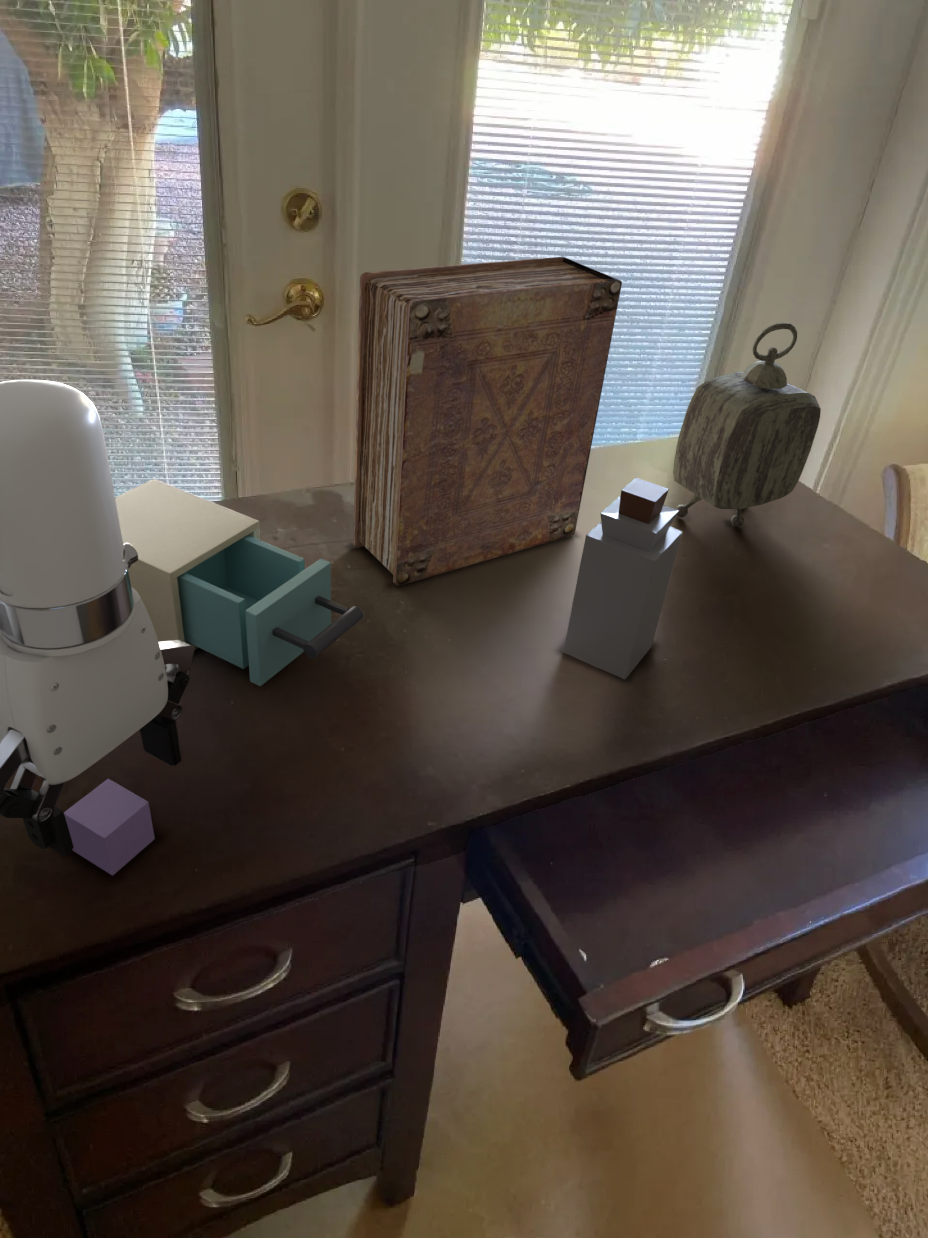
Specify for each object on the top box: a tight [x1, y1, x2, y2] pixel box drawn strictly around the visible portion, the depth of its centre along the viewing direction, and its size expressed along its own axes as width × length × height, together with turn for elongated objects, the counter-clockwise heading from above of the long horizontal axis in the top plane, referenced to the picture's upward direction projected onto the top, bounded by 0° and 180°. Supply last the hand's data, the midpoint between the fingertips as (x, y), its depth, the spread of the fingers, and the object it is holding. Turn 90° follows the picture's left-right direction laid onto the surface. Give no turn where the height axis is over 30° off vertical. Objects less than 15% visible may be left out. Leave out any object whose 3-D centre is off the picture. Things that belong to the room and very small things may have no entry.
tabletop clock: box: [672, 322, 822, 528], centre depth 107 cm, size 14×9×25 cm, turn 122°
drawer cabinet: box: [115, 478, 261, 652], centre depth 86 cm, size 14×12×10 cm
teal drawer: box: [177, 535, 364, 687], centre depth 81 cm, size 17×10×8 cm, turn 60°
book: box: [352, 256, 623, 586], centre depth 95 cm, size 25×9×30 cm, turn 124°
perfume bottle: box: [562, 477, 684, 680], centre depth 84 cm, size 7×7×18 cm
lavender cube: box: [63, 778, 156, 877], centre depth 63 cm, size 4×4×4 cm
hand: (111, 798), depth 62 cm, fingers open, 9 cm apart
